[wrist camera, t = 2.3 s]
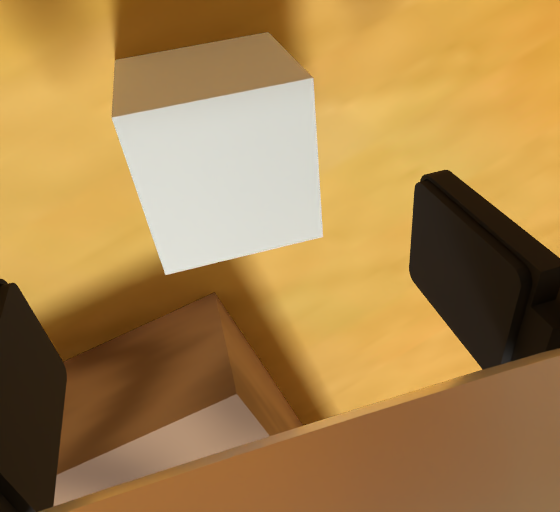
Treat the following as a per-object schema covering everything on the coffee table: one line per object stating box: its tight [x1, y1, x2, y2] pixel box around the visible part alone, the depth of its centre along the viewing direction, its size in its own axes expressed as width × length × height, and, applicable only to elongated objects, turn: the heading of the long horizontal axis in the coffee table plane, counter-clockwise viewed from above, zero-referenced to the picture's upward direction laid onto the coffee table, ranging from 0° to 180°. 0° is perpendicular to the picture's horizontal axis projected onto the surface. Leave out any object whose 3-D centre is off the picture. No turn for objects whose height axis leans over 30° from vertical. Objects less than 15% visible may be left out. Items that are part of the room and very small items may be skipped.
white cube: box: [112, 32, 323, 275], centre depth 15 cm, size 5×5×5 cm
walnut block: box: [53, 292, 303, 507], centre depth 26 cm, size 10×18×6 cm, turn 21°
